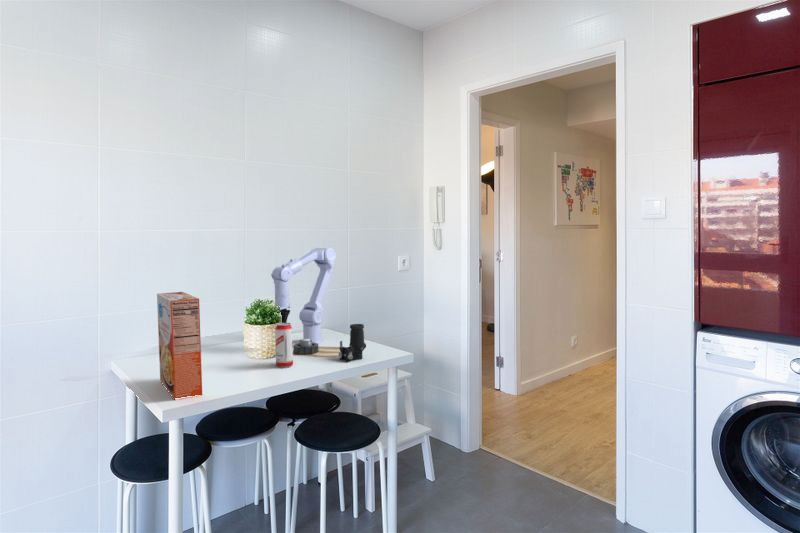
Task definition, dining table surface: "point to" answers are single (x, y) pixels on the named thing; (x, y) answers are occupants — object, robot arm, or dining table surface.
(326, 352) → the tan wooden board
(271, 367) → the dining table surface
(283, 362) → the beer can
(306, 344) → the grey domed cylinder
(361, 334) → the scope
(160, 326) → the cereal box
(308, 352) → the segmented dark ring
